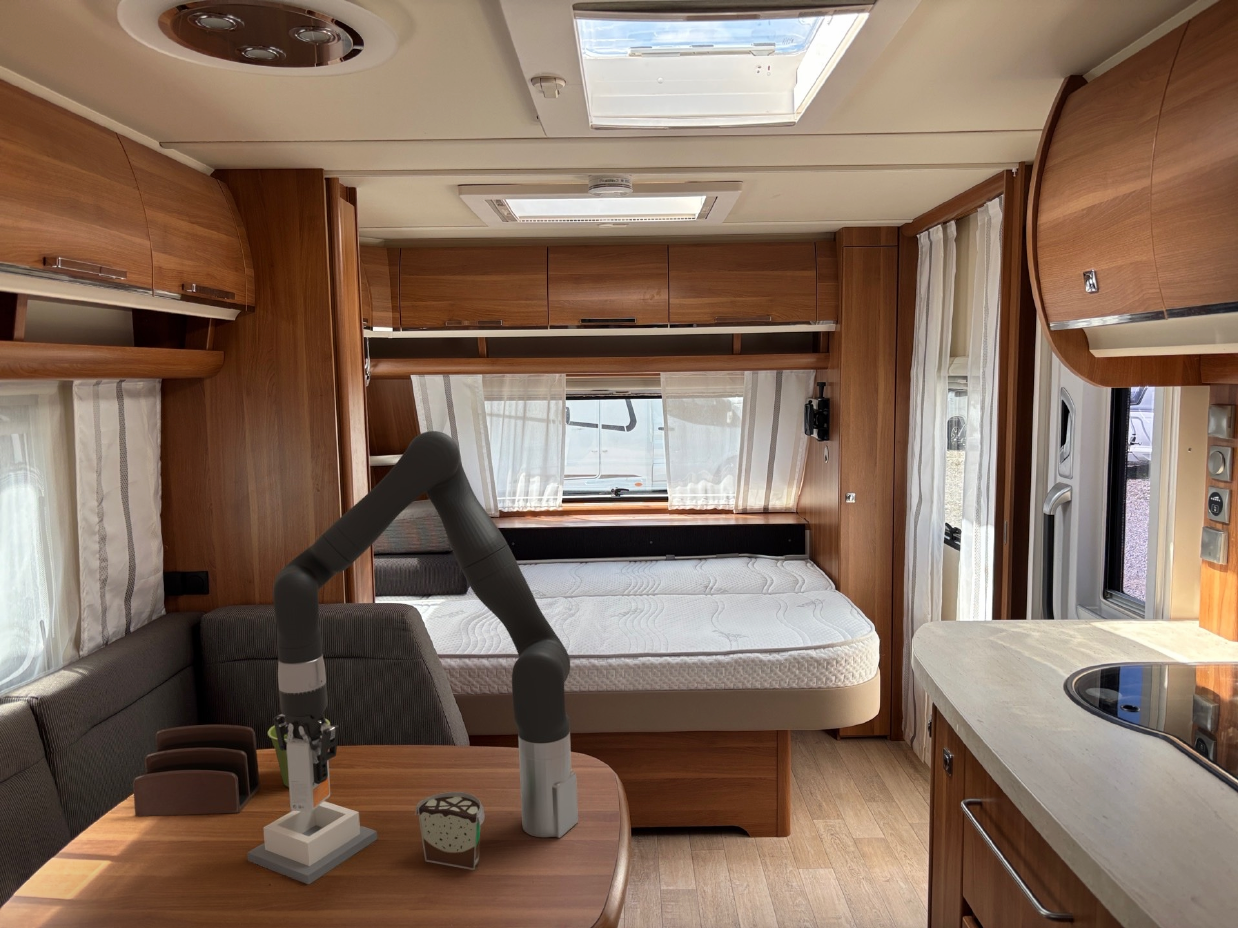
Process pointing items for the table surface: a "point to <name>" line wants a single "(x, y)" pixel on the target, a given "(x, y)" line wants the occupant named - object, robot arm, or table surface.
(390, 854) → the table surface
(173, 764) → the letter holder
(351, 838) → the box stand
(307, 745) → the skincare box
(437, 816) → the food container
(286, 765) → the plant pot
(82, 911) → the table surface
